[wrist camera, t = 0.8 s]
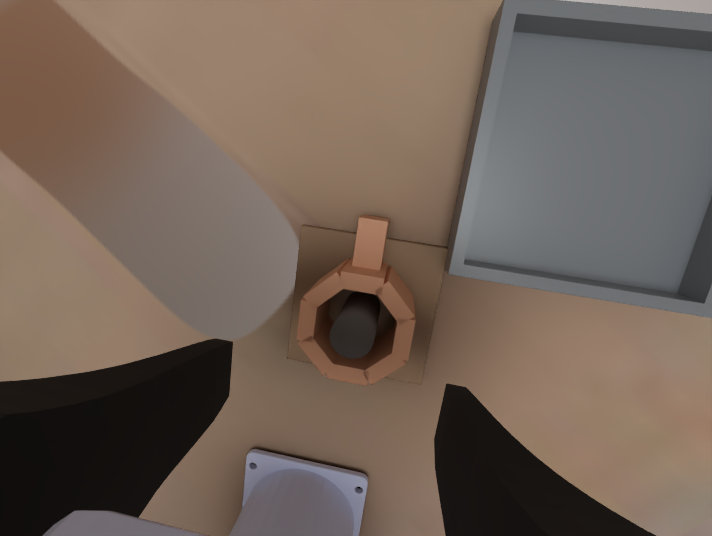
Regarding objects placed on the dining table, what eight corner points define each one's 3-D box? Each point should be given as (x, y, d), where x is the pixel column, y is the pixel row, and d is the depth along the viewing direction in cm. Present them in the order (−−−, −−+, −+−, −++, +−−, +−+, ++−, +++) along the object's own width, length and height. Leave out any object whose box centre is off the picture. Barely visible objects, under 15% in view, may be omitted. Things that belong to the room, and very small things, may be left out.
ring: (402, 359, 21) (401, 393, 17) (310, 342, 21) (292, 371, 18) (427, 224, 19) (432, 231, 16) (326, 209, 20) (310, 212, 16)
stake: (420, 379, 21) (425, 434, 17) (290, 354, 22) (258, 399, 17) (447, 247, 20) (460, 265, 15) (304, 224, 20) (273, 234, 16)
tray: (677, 303, 19) (713, 318, 17) (443, 265, 20) (448, 274, 18) (768, 47, 16) (827, 24, 14) (492, 20, 17) (505, -5, 15)
